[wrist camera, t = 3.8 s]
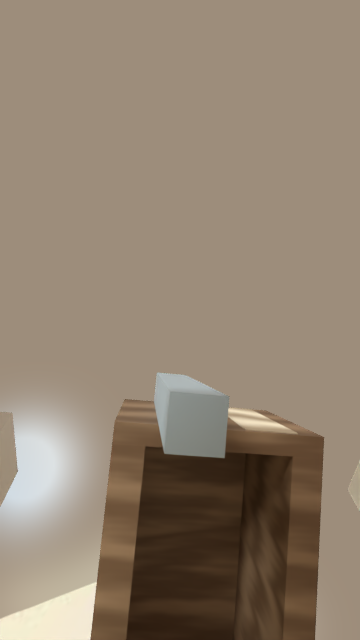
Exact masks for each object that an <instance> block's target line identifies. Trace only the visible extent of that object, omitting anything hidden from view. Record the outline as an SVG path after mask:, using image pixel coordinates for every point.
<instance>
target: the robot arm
mask: <svg viewBox="0 0 360 640" xmlns="http://www.w3.org/2000/svg"><path fill="white" fill-rule="evenodd" d="M16 459H17V458H16V448H15V438H14V426H13V415H12V413H7V412H0V506H1V504H2V502H3V500H4V498H5V496H6V494H7V492H8V490H9V488H10V486H11V484H12V482H13V480H14V478H15V476H16V474H17V472H18V469H17V460H16ZM348 491H349V493H350V495H351V497H352V498H353V500H354V502H355V504H356V506H357V507H358V509H359V511H360V461H359V464H358V466H357V469H356V471H355V473H354V476H353V478H352V480H351V483H350V485H349V487H348Z"/></svg>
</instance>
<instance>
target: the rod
mask: <svg viewBox="0 0 360 640" xmlns="http://www.w3.org/2000/svg"><path fill="white" fill-rule="evenodd" d="M154 404H155V409H156V414H157V419H158V424H159V430H160V435H161V440H162V445H163V450H164V454H173V455H188V456H203V457H217V458H225V447H226V433H227V420H228V406H229V396H227V395H225V394H223V393H221V392H219V391H217V390H215V389H213V388H211V387H209V386H207V385H205V384H203V383H201V382H199V381H196V380H194V379H192V378H190V377H188V376H186V375H178V374H167V373H157V378H156V388H155V398H154Z"/></svg>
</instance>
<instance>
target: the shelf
mask: <svg viewBox="0 0 360 640" xmlns="http://www.w3.org/2000/svg"><path fill="white" fill-rule="evenodd" d="M323 448H324V437H322V436H320V435H318V434H316V433H314V432H311V431H309V430H307V429H305V428H303V427H300V426H298V425H296V424H294V423H292V422H290V421H287V420H285V419H283V418H281V417H279V416H277V415H274V414H272V413H270V412H268V411H263V410H251V409H242V408H229V407H228V420H227V433H226V447H225V458H217V457H203V456H188V455H173V454H164V450H163V445H162V440H161V435H160V430H159V424H158V419H157V414H156V409H155V404H154V402H152V401H140V400H128V399H125V400H124V402H123V405H122V407H121V409H120V411H119V413H118V416H117V418H116V420H115V425H114V433H113V442H112V452H111V460H110V470H109V479H108V488H107V496H106V506H105V514H104V524H103V532H102V542H101V550H100V560H99V568H98V578H97V586H96V595H95V604H94V613H93V622H92V631H91V640H315V625H316V602H317V601H316V600H317V581H318V558H319V536H320V513H321V492H322V491H321V490H322V470H323Z"/></svg>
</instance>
